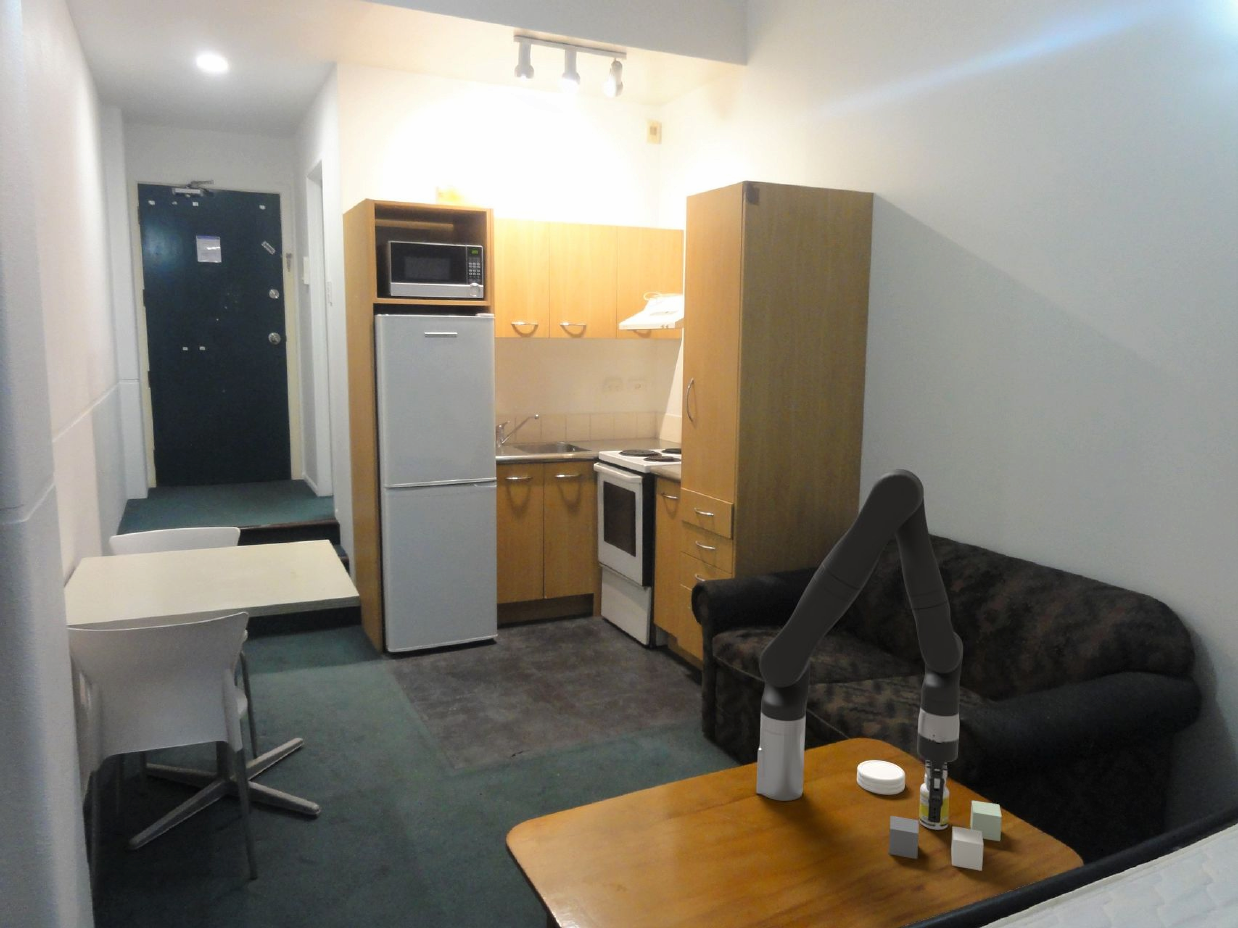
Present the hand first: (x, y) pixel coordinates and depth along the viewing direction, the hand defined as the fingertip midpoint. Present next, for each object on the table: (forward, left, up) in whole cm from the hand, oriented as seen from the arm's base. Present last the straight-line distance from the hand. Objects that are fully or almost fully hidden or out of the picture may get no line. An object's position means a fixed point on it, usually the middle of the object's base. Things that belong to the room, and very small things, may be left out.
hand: (933, 813), depth 173 cm
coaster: (-11, +14, -2) cm, 18 cm away
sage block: (+9, 0, -2) cm, 10 cm away
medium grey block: (-6, -12, -2) cm, 13 cm away
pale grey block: (+5, -12, -2) cm, 13 cm away
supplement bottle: (0, 0, -2) cm, 2 cm away
